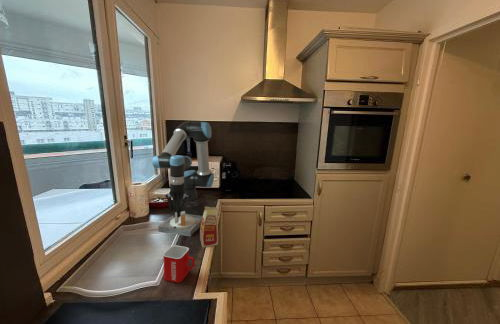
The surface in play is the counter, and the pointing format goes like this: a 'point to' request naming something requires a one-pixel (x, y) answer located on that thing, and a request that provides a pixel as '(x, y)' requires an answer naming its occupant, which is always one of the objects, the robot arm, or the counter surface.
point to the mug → (176, 263)
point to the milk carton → (209, 227)
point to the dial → (183, 221)
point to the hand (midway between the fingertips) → (176, 222)
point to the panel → (189, 231)
